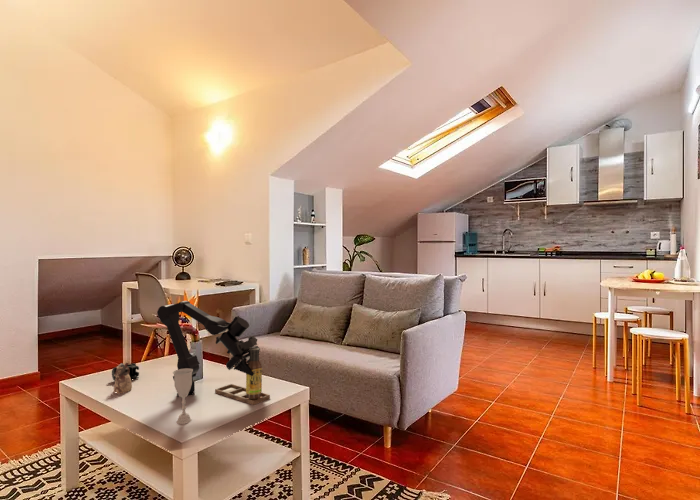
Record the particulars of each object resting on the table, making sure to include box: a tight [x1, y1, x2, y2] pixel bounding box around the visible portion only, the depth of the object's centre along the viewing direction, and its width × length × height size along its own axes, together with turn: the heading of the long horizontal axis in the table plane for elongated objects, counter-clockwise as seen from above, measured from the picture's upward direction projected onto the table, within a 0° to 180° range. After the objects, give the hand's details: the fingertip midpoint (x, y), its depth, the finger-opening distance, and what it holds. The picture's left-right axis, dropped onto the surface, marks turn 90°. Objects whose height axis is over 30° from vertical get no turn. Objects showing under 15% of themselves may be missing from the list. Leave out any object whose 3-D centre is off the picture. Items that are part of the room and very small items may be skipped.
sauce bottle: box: [245, 347, 263, 399], centre depth 173 cm, size 6×6×20 cm
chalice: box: [172, 368, 193, 425], centre depth 153 cm, size 7×7×18 cm
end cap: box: [111, 362, 140, 382], centre depth 202 cm, size 10×7×7 cm
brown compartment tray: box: [214, 383, 271, 406], centre depth 178 cm, size 25×9×2 cm, turn 53°
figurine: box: [113, 362, 133, 394], centre depth 187 cm, size 7×7×12 cm
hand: (256, 372), depth 172 cm, fingers closed on sauce bottle, 6 cm apart
